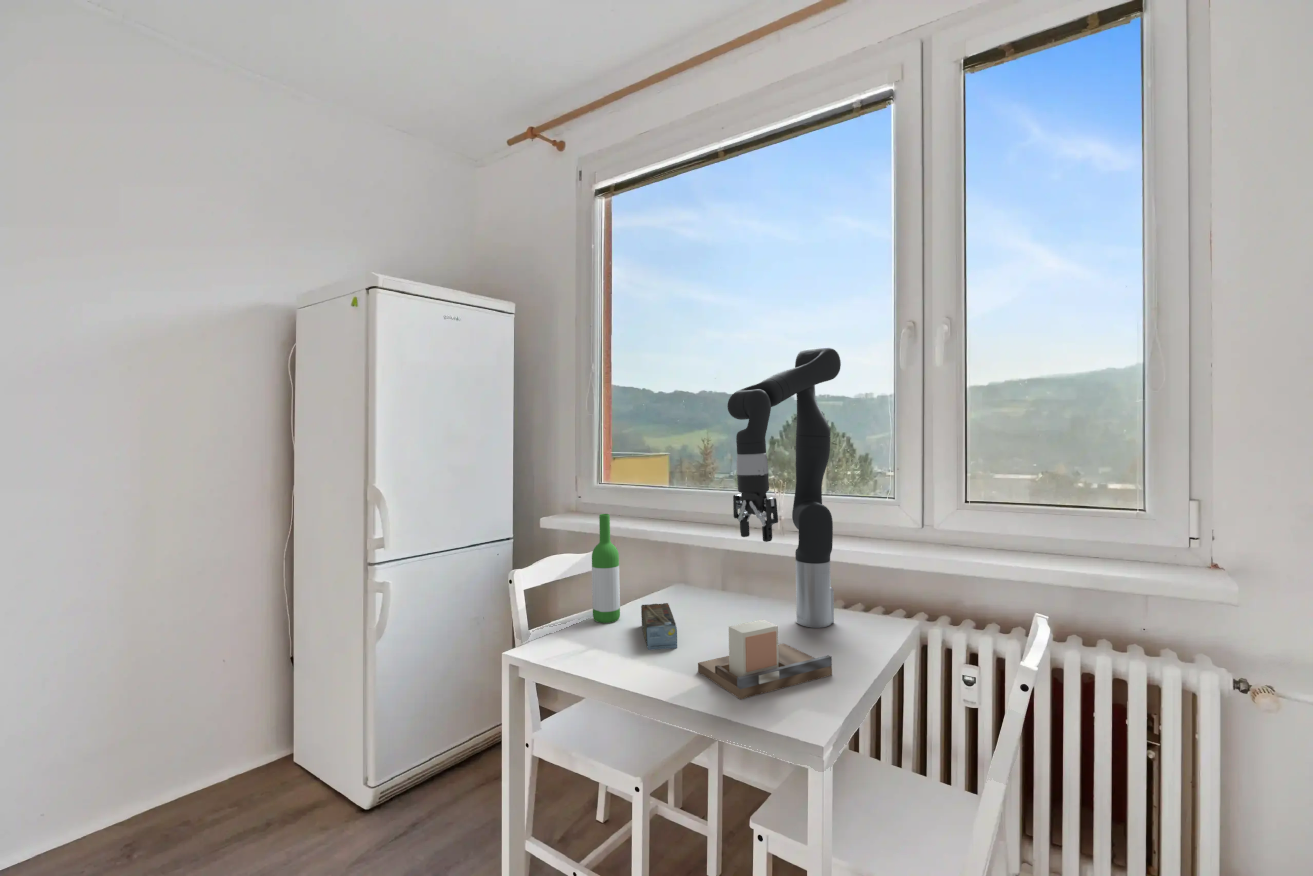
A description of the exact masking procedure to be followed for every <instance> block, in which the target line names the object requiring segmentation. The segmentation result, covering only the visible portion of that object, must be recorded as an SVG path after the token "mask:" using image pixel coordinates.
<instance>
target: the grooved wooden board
mask: <svg viewBox="0 0 1313 876" xmlns="http://www.w3.org/2000/svg"><path fill="white" fill-rule="evenodd" d="M778 662H779V667H778V668H774V669H769V670H765V671H761V672H757V673H753V674H749V675H745V676H741V677H737V676H736V675H734V674H732V673H731V672H729V655H726V656H722V657H716V658H713V659H709V660H704V661H699V662H697V673H700V674H701V675H703V677H705V678H706V679H709V680H710V681H712V682H713V683H715V684H716V685H718V686H719V687H720V688H722V689H724V690H725V691H727V692H729V694H732V695H733V696H735V697H736V698H737V699H739V700H744V699H747V698H750V697H754V696H758V695H762V694H767V693H771V692H774V691H777V690H780V689H784V688H789V687H793V686H796V685H800V684H803V683H804V684H805V683H807V682H811V681H814V680H818V679H822V678H825V677H829V676H832V675H833V666H832V665H833V656H831V655H830V654H827V655H823V656H819V657H815V656H812V655H809V654H807V653H805V652H803V651H801V650H799V649H797V648H794V647H792V646H790V645H788V644H786V643H778Z"/></svg>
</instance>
